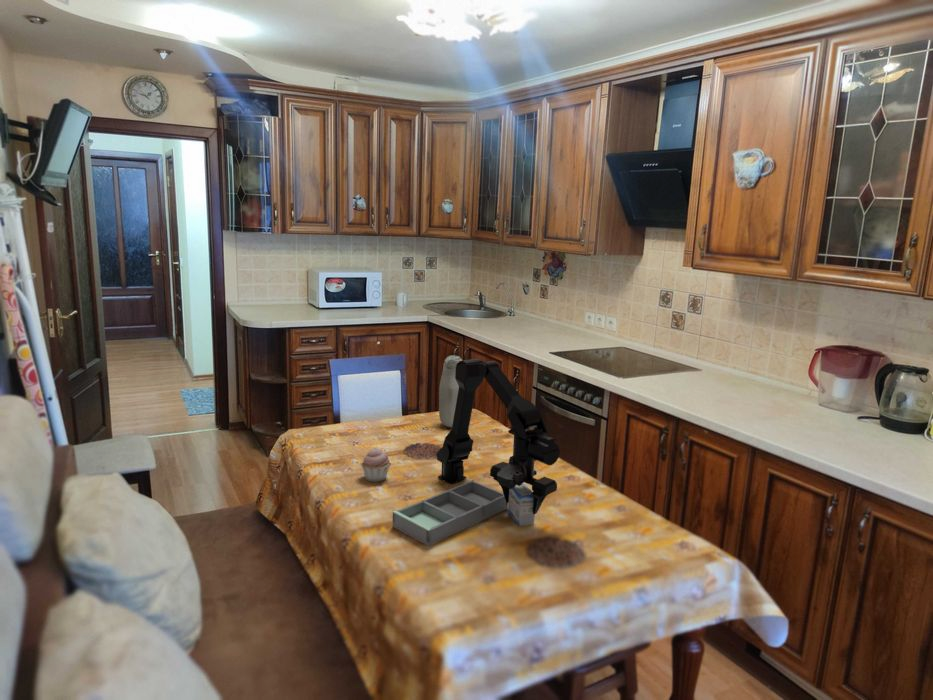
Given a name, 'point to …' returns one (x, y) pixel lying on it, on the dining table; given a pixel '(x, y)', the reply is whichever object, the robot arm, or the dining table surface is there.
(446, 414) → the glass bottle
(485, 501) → the grey compartment tray
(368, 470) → the cupcake
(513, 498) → the medicine box
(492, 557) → the dining table surface
